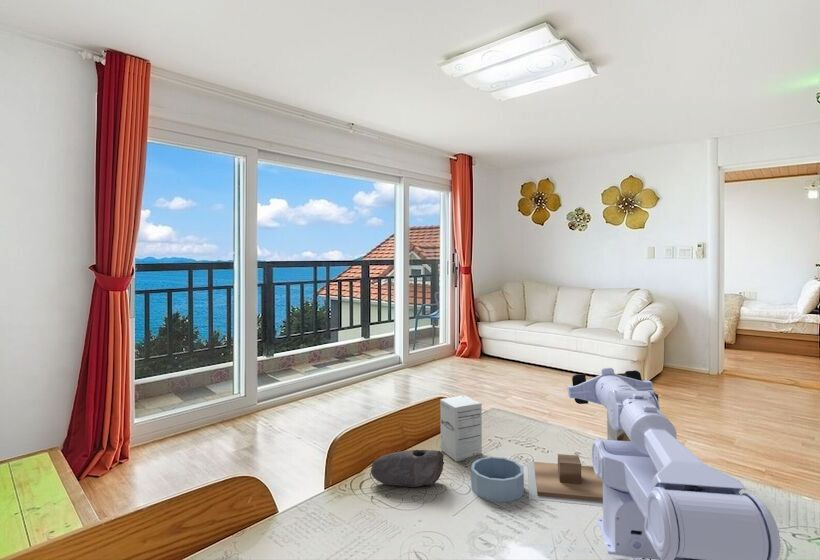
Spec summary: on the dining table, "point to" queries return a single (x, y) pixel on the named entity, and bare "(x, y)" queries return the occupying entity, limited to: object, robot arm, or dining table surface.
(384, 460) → the perforated stone tool
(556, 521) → the dining table surface
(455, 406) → the supplement box
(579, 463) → the lid
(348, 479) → the dining table surface
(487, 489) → the bowl
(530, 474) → the mat
